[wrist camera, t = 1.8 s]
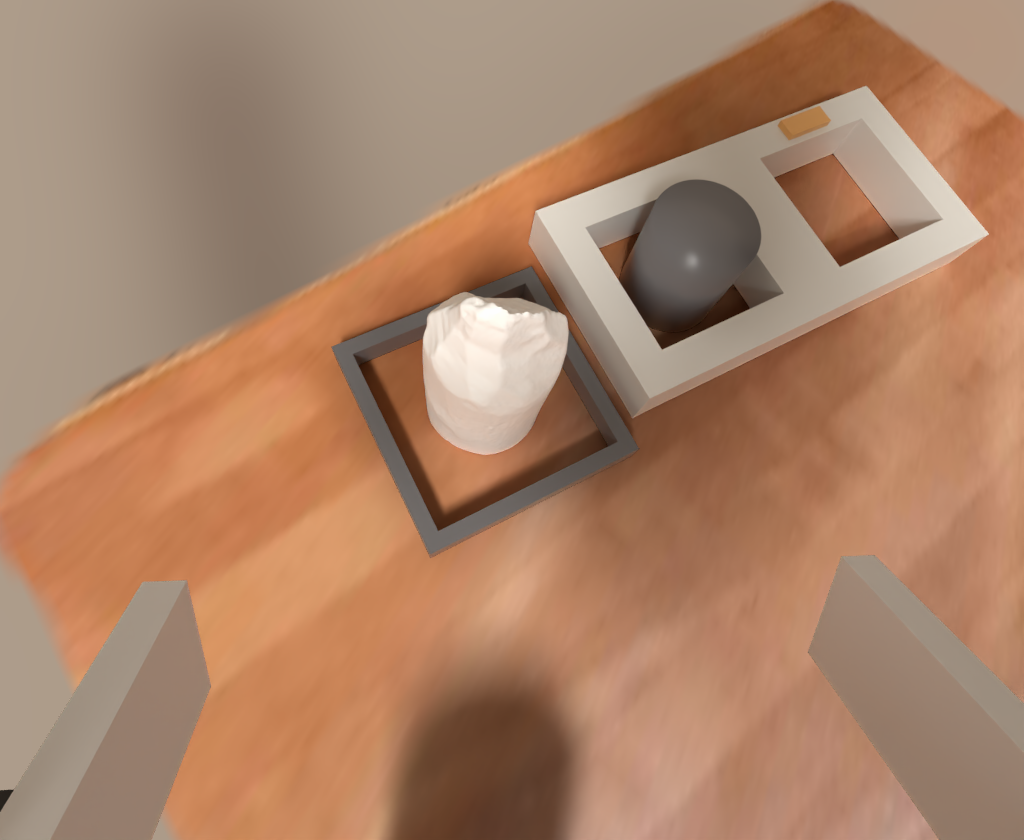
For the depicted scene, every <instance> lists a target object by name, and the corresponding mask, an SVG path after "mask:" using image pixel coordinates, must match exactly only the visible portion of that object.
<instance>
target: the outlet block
mask: <svg viewBox="0 0 1024 840" xmlns="http://www.w3.org/2000/svg"><path fill="white" fill-rule="evenodd" d="M831 154H834V156H835V157H836V158H837V159H838V161H839V162H840V163H841V165H842V166H843V167H844V168H845V170H846V171H847V172H848V174H849V175H850V176H851V177H852V179H853V180H854V181H855V183H856V184H857V185H858V186H859V188H860V189H861V190H862V192H863V193H864V194H865V195H866V197H867V198H868V199H869V201H870V202H871V203H872V204H873V206H874V207H875V208H876V210H877V211H878V212H879V213H880V215H881V216H882V217H883V219H884V220H885V221H886V222H887V224H888V225H889V226H890V228H891V229H892V230H893V231H894V233H895V234H896V235H897V236H898V238H899V240H897V241H895V242H893V243H891V244H888V245H886V246H884V247H882V248H880V249H878V250H875V251H873V252H871V253H869V254H867V255H865V256H863V257H860V258H858V259H856V260H854V261H852V262H850V263H848V264H845V265H843V266H841V267H840V266H839V265H838V264H837V262H836V261H835V260H834V258H833V257H832V256H831V254H830V253H829V252H828V250H827V249H826V247H825V246H824V245H823V243H822V242H821V241H820V239H819V238H818V237H817V235H816V234H815V233H814V231H813V230H812V229H811V227H810V226H809V224H808V223H807V222H806V220H805V219H804V218H803V216H802V215H801V214H800V212H799V211H798V210H797V208H796V207H795V206H794V204H793V203H792V201H791V200H790V199H789V197H788V196H787V195H786V193H785V192H784V191H783V189H782V188H781V187H780V185H779V184H778V183H777V181H776V180H775V178H774V177H776V176H779V175H781V174H784V173H786V172H789V171H791V170H794V169H796V168H799V167H801V166H804V165H806V164H808V163H811V162H813V161H816V160H818V159H821V158H823V157H826V156H828V155H831ZM639 232H640V234H639V236H638V238H637V240H636V242H635V244H634V247H633V249H632V251H631V253H630V255H629V257H628V259H627V261H626V263H625V265H624V267H623V269H622V271H621V274H620V279H619V280H618V279H617V277H616V276H615V274H614V272H613V271H612V269H611V268H610V266H609V264H608V263H607V261H606V260H605V258H604V256H603V255H602V253H601V252H600V250H599V248H602V247H604V246H607V245H609V244H612V243H614V242H617V241H619V240H621V239H624V238H626V237H629V236H631V235H634V234H636V233H639ZM987 235H989V234H988V232H987V231H986V230H985V229H984V228H983V226H982V225H981V224H980V223H979V221H978V220H977V219H976V218H975V217H974V215H973V214H972V213H971V212H970V211H969V209H968V208H967V207H966V206H965V204H964V203H963V202H962V201H961V200H960V198H959V197H958V196H957V195H956V194H955V192H954V191H953V190H952V189H951V188H950V186H949V185H948V184H947V183H946V181H945V180H944V179H943V178H942V177H941V175H940V174H939V173H938V172H937V171H936V169H935V168H934V167H933V166H932V164H931V163H930V162H929V161H928V160H927V158H926V157H925V156H924V155H923V154H922V152H921V151H920V150H919V149H918V147H917V146H916V145H915V144H914V143H913V141H912V140H911V139H910V138H909V137H908V135H907V134H906V133H905V132H904V131H903V129H902V128H901V127H900V126H899V124H898V123H897V122H896V121H895V120H894V118H893V117H892V116H891V115H890V114H889V112H888V111H887V110H886V109H885V107H884V106H883V105H882V104H881V103H880V101H879V100H878V99H877V98H876V97H875V95H874V94H873V93H872V92H871V90H870V89H869V88H868V87H867V86H864V87H862V88H859V89H856V90H854V91H851V92H848V93H846V94H843V95H841V96H838V97H835V98H833V99H830V100H827V101H825V102H822V103H819V104H817V105H814V106H811V107H809V108H806V109H804V110H801V111H798V112H796V113H793V114H790V115H788V116H785V117H782V118H780V119H777V120H774V121H772V122H769V123H767V124H764V125H761V126H759V127H756V128H753V129H751V130H748V131H745V132H743V133H740V134H737V135H735V136H732V137H730V138H727V139H724V140H722V141H719V142H716V143H714V144H711V145H708V146H706V147H703V148H701V149H698V150H695V151H693V152H690V153H687V154H685V155H682V156H679V157H677V158H674V159H671V160H669V161H666V162H664V163H661V164H658V165H656V166H653V167H650V168H648V169H645V170H642V171H640V172H637V173H634V174H632V175H629V176H627V177H624V178H621V179H619V180H616V181H613V182H611V183H608V184H605V185H603V186H600V187H597V188H595V189H592V190H590V191H587V192H584V193H582V194H579V195H576V196H574V197H571V198H568V199H566V200H563V201H561V202H558V203H555V204H553V205H550V206H547V207H545V208H542V209H539V210H537V211H535V216H534V220H533V225H532V229H531V234H530V239H529V243H528V244H529V245H530V247H531V249H532V250H533V252H534V254H535V255H536V257H537V259H538V261H539V262H540V264H541V266H542V267H543V269H544V271H545V272H546V274H547V276H548V277H549V279H550V281H551V282H552V284H553V286H554V287H555V289H556V291H557V292H558V294H559V296H560V297H561V299H562V301H563V303H564V304H565V306H566V308H567V309H568V311H569V313H570V314H571V316H572V318H573V319H574V321H575V323H576V324H577V326H578V328H579V329H580V331H581V333H582V334H583V336H584V338H585V340H586V341H587V343H588V345H589V346H590V348H591V350H592V351H593V353H594V355H595V356H596V358H597V360H598V361H599V363H600V365H601V366H602V368H603V370H604V371H605V373H606V375H607V376H608V378H609V380H610V382H611V383H612V385H613V387H614V388H615V390H616V392H617V393H618V395H619V397H620V398H621V400H622V402H623V403H624V405H625V407H626V408H627V410H628V412H629V413H630V415H631V417H632V418H634V417H636V416H638V415H640V414H642V413H644V412H646V411H648V410H650V409H652V408H654V407H656V406H658V405H660V404H662V403H664V402H667V401H669V400H671V399H673V398H675V397H677V396H679V395H681V394H683V393H685V392H687V391H689V390H691V389H693V388H695V387H697V386H699V385H701V384H703V383H705V382H707V381H709V380H711V379H713V378H715V377H718V376H720V375H722V374H724V373H726V372H728V371H730V370H732V369H734V368H736V367H738V366H740V365H742V364H744V363H746V362H748V361H750V360H752V359H754V358H756V357H758V356H760V355H762V354H764V353H766V352H769V351H771V350H773V349H775V348H777V347H779V346H781V345H783V344H785V343H787V342H789V341H791V340H793V339H795V338H797V337H799V336H801V335H803V334H805V333H807V332H809V331H811V330H813V329H815V328H818V327H820V326H822V325H824V324H826V323H828V322H830V321H832V320H834V319H836V318H838V317H840V316H842V315H844V314H846V313H848V312H850V311H852V310H854V309H856V308H858V307H860V306H862V305H864V304H866V303H869V302H871V301H873V300H875V299H877V298H879V297H881V296H883V295H885V294H887V293H889V292H891V291H893V290H895V289H897V288H899V287H901V286H903V285H905V284H907V283H909V282H911V281H913V280H915V279H918V278H920V277H922V276H924V275H926V274H928V273H930V272H932V271H934V270H936V269H938V268H940V267H942V266H944V265H946V264H948V263H950V262H951V261H953V260H954V259H955V258H957V257H958V256H960V255H961V254H962V253H964V252H965V251H967V250H968V249H969V248H971V247H972V246H973V245H975V244H976V243H978V242H979V241H980V240H982V239H983V238H984V237H986V236H987ZM732 284H734V286H735V287H736V288H737V290H738V291H739V293H740V294H741V296H742V297H743V299H744V300H745V302H746V303H747V305H748V306H749V308H750V309H749V310H746V311H744V312H742V313H740V314H738V315H736V316H734V317H731V318H729V319H727V320H725V321H723V322H721V323H719V324H716V325H714V326H712V327H710V328H708V329H706V330H703V331H701V332H699V333H697V334H695V335H693V336H691V337H688V338H686V339H684V340H682V341H680V342H678V343H676V344H673V345H671V346H669V347H667V348H665V349H663V350H662V349H661V347H660V346H659V344H658V342H657V341H656V339H655V338H654V336H653V335H652V333H651V331H650V330H649V328H648V327H647V326H649V327H651V328H653V329H656V330H660V331H665V332H680V331H684V330H687V329H690V328H692V327H694V326H696V325H697V324H699V323H700V322H701V321H702V320H703V319H704V318H705V317H706V315H707V314H708V313H709V312H710V311H711V309H712V308H713V307H714V306H715V305H716V303H717V302H718V301H719V300H720V299H721V298H722V296H723V295H724V294H725V293H726V292H727V290H728V289H729V288H730V287H731V286H732Z"/></svg>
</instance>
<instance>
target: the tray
mask: <svg viewBox="0 0 1024 840" xmlns="http://www.w3.org/2000/svg"><path fill="white" fill-rule="evenodd" d="M468 293H471V294H473V295H475V296H480V297H483V298H523V299H524V300H526V301H529V302H533V303H535V304H538V305H540V306H543V307H546V308H548V309H550V310H551V311H555V312H558V310H557V309H556V307H555V305H554V304H553V302H552V300H551V299H550V297H549V295H548V293H547V292H546V290H545V288H544V287H543V285H542V283H541V282H540V280H539V278H538V276H537V275H536V273H535V271H534V270H533V268H532V266H531V267H529V268H526V269H524V270H521V271H519V272H516V273H514V274H511V275H509V276H507V277H504V278H502V279H499V280H497V281H494V282H492V283H489V284H487V285H484V286H482V287H479V288H477V289H474V290H472V291H469V292H468ZM442 303H443V302H442ZM442 303H439V304H437V305H434V306H432V307H429V308H427V309H424V310H422V311H419V312H417V313H414V314H412V315H410V316H407V317H405V318H402V319H400V320H397V321H395V322H392V323H390V324H387V325H385V326H382V327H380V328H377V329H375V330H372V331H370V332H367V333H365V334H362V335H360V336H357V337H355V338H352V339H350V340H347V341H345V342H342V343H340V344H337V345H335V346H332V350H333V352H334V355H335V357H336V360H337V362H338V364H339V366H340V368H341V370H342V372H343V374H344V377H345V379H346V381H347V383H348V385H349V387H350V389H351V391H352V393H353V396H354V398H355V400H356V402H357V404H358V406H359V408H360V410H361V412H362V414H363V417H364V419H365V421H366V423H367V425H368V427H369V429H370V431H371V433H372V436H373V438H374V440H375V442H376V444H377V446H378V448H379V450H380V452H381V455H382V457H383V459H384V461H385V463H386V465H387V467H388V469H389V471H390V474H391V476H392V478H393V480H394V482H395V484H396V486H397V488H398V490H399V493H400V495H401V497H402V499H403V501H404V503H405V505H406V507H407V509H408V512H409V514H410V516H411V518H412V520H413V522H414V524H415V526H416V528H417V531H418V533H419V535H420V537H421V539H422V541H423V543H424V545H425V547H426V550H427V552H428V554H429V556H430V558H432V557H434V556H436V555H438V554H440V553H442V552H444V551H446V550H448V549H449V548H451V547H453V546H455V545H457V544H459V543H461V542H463V541H465V540H467V539H469V538H471V537H473V536H475V535H477V534H479V533H481V532H483V531H485V530H487V529H489V528H491V527H493V526H495V525H497V524H499V523H501V522H503V521H505V520H507V519H509V518H511V517H513V516H515V515H517V514H518V513H520V512H522V511H524V510H526V509H528V508H530V507H532V506H534V505H536V504H538V503H540V502H542V501H544V500H546V499H548V498H550V497H552V496H554V495H556V494H558V493H560V492H562V491H564V490H566V489H568V488H570V487H572V486H574V485H576V484H578V483H580V482H582V481H584V480H586V479H588V478H589V477H591V476H593V475H595V474H597V473H599V472H601V471H603V470H605V469H607V468H609V467H611V466H613V465H615V464H617V463H619V462H621V461H623V460H625V459H627V458H629V457H631V456H632V455H633V454H634V453H635V452H636V451H637V450H638V449H639V448H638V446H637V444H636V443H635V441H634V439H633V438H632V436H631V434H630V432H629V431H628V429H627V427H626V426H625V424H624V422H623V421H622V419H621V417H620V416H619V414H618V412H617V410H616V409H615V407H614V405H613V404H612V402H611V400H610V399H609V397H608V395H607V393H606V392H605V390H604V388H603V387H602V385H601V383H600V382H599V380H598V378H597V377H596V375H595V373H594V371H593V370H592V368H591V366H590V365H589V363H588V361H587V360H586V358H585V356H584V354H583V353H582V351H581V349H580V348H579V346H578V344H577V343H576V341H575V339H574V338H573V336H572V334H571V332H570V331H569V335H568V344H567V352H566V356H565V359H564V362H563V366H562V367H563V369H564V370H565V372H566V374H567V376H568V377H569V379H570V381H571V382H572V384H573V386H574V388H575V389H576V391H577V393H578V395H579V396H580V398H581V400H582V402H583V403H584V405H585V407H586V409H587V410H588V412H589V414H590V415H591V417H592V419H593V421H594V422H595V424H596V426H597V428H598V429H599V431H600V433H601V435H602V436H603V438H604V440H605V441H606V443H607V445H608V447H606V448H604V449H602V450H600V451H598V452H596V453H594V454H592V455H590V456H588V457H586V458H584V459H582V460H580V461H578V462H576V463H574V464H572V465H570V466H568V467H566V468H564V469H562V470H560V471H558V472H556V473H554V474H552V475H550V476H548V477H546V478H544V479H542V480H540V481H538V482H536V483H534V484H532V485H530V486H528V487H526V488H524V489H522V490H520V491H518V492H516V493H514V494H512V495H510V496H508V497H506V498H504V499H502V500H500V501H498V502H496V503H494V504H492V505H490V506H488V507H486V508H484V509H482V510H480V511H478V512H476V513H474V514H472V515H470V516H468V517H466V518H464V519H462V520H460V521H458V522H456V523H454V524H452V525H450V526H448V527H446V528H444V529H442V530H440V531H438V530H437V528H436V526H435V524H434V522H433V519H432V517H431V515H430V513H429V511H428V509H427V507H426V505H425V503H424V501H423V499H422V497H421V495H420V493H419V490H418V488H417V486H416V484H415V482H414V480H413V478H412V476H411V474H410V472H409V470H408V468H407V466H406V464H405V461H404V459H403V457H402V455H401V453H400V451H399V449H398V447H397V445H396V443H395V441H394V439H393V437H392V435H391V432H390V430H389V428H388V426H387V424H386V422H385V420H384V418H383V416H382V414H381V412H380V410H379V408H378V405H377V403H376V401H375V399H374V397H373V395H372V393H371V391H370V389H369V387H368V385H367V383H366V381H365V379H364V376H363V374H362V372H361V370H360V368H359V366H358V365H360V364H362V363H365V362H367V361H369V360H372V359H374V358H377V357H379V356H382V355H384V354H386V353H389V352H391V351H394V350H396V349H398V348H401V347H403V346H406V345H408V344H410V343H413V342H415V341H418V340H420V339H423V336H424V332H425V330H426V326H427V317H428V314H429V313H430V312H431V311H432V310H434V309H436V308H437V307H438V306H439V305H440V304H442ZM568 330H569V329H568Z"/></svg>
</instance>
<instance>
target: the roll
mask: <svg viewBox="0 0 1024 840" xmlns="http://www.w3.org/2000/svg"><path fill="white" fill-rule="evenodd" d="M568 335H569V330H568V321H567V317H566V316H565V315H564V314H561V313H560V312H555V311H551V310H550V309H548V308H546V307H543V306H540V305H538V304H535V303H533V302H529V301H526V300H523V299H521V298H483V297H480V296H475V295H473V294H471V293H468V292H463V293H460V294H457V295H455V296H453V297H451V298H450V299H448V300H446V301H444V302H443V303H442V304H440V305H439V306H438V307H437V308H436V309H434V310H432V311H431V312H430V313H429V314H428V317H427V326H426V330H425V332H424V336H423V376H424V384H425V396H426V405H427V411H428V416H429V419H430V422H431V424H432V425H433V427H434V428H435V430H436V431H437V432H438V433H439V434H440V435H441V436H442V437H443V438H444V439H445V440H447V441H449V442H450V443H451V444H453V445H454V446H456V447H458V448H460V449H463V450H466V451H469V452H472V453H477V454H482V455H489V454H496V453H499V452H502V451H504V450H507V449H509V448H511V447H513V446H514V445H516V444H517V443H519V442H520V441H521V440H522V439H523V438H524V437H525V436H526V435H527V434H528V432H529V431H530V430H531V428H532V426H533V425H534V422H535V420H536V417H537V415H538V413H539V411H540V409H541V407H542V405H543V404H544V402H545V400H546V398H547V396H548V394H549V392H550V391H551V389H552V388H553V386H554V384H555V382H556V380H557V378H558V376H559V374H560V372H561V369H562V366H563V362H564V359H565V356H566V352H567V344H568Z"/></svg>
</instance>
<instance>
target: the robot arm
mask: <svg viewBox="0 0 1024 840" xmlns="http://www.w3.org/2000/svg"><path fill="white" fill-rule="evenodd" d="M808 653H809V654H810V656H811V657H812V659H813V660H814V661H815V663H816V664H817V666H818V667H819V669H820V670H821V671H822V673H823V674H824V676H825V677H826V679H827V680H828V681H829V683H830V684H831V686H832V687H833V689H834V690H835V691H836V693H837V694H838V696H839V697H840V699H841V700H842V701H843V703H844V704H845V706H846V707H847V709H848V710H849V711H850V713H851V714H852V716H853V717H854V719H855V720H856V721H857V723H858V724H859V726H860V727H861V729H862V730H863V731H864V733H865V734H866V736H867V737H868V738H869V740H870V741H871V743H872V744H873V746H874V747H875V748H876V750H877V751H878V753H879V754H880V756H881V757H882V758H883V760H884V761H885V763H886V764H887V766H888V767H889V768H890V770H891V771H892V773H893V774H894V776H895V777H896V778H897V780H898V781H899V783H900V784H901V786H902V787H903V788H904V790H905V791H906V793H907V794H908V796H909V797H910V798H911V800H912V801H913V803H914V804H915V806H916V807H917V808H918V810H919V811H920V813H921V814H922V816H923V817H924V818H925V820H926V821H927V823H928V824H929V826H930V827H931V828H932V830H933V831H934V833H935V834H936V835H937V837H938V838H939V840H1024V703H1023V702H1022V701H1021V700H1020V699H1019V698H1018V697H1017V696H1016V695H1015V694H1014V693H1013V692H1012V691H1011V690H1010V689H1009V688H1008V687H1007V686H1006V685H1005V684H1004V683H1003V682H1002V681H1001V680H1000V679H999V678H998V677H997V676H996V675H995V674H994V673H993V672H992V671H991V670H990V669H989V668H988V667H987V666H986V665H985V664H984V663H983V662H982V661H981V660H980V659H979V658H978V657H977V656H976V655H975V654H974V653H973V652H971V651H970V650H969V649H968V648H967V647H966V646H965V645H964V644H963V643H962V642H961V641H960V640H959V639H958V638H957V637H956V636H955V635H954V634H953V633H952V632H951V631H950V630H949V629H948V628H947V627H946V626H945V625H944V624H943V623H942V622H941V621H940V620H939V619H938V618H937V617H936V616H935V615H934V614H933V613H932V612H931V611H930V610H929V609H928V608H927V607H926V606H925V605H924V604H923V603H922V602H921V601H920V600H919V599H918V598H917V597H916V596H915V595H914V594H913V593H912V592H911V591H910V590H909V589H908V588H907V587H906V586H905V585H904V584H903V583H902V582H901V581H900V580H899V579H898V578H897V577H896V576H895V575H894V574H893V573H892V572H891V571H890V570H889V569H888V568H887V567H886V566H885V565H884V564H883V563H882V562H881V561H880V560H879V559H878V558H877V557H876V556H875V555H868V556H841V559H840V562H839V565H838V568H837V570H836V573H835V576H834V579H833V582H832V585H831V588H830V590H829V593H828V596H827V599H826V602H825V605H824V608H823V610H822V613H821V616H820V619H819V622H818V625H817V628H816V630H815V633H814V636H813V639H812V642H811V645H810V647H809V650H808ZM210 687H211V684H210V680H209V675H208V671H207V667H206V662H205V658H204V653H203V649H202V645H201V640H200V636H199V632H198V627H197V623H196V618H195V614H194V610H193V605H192V601H191V596H190V592H189V588H188V583H187V580H183V581H156V582H142V584H141V586H140V587H139V589H138V591H137V592H136V594H135V595H134V597H133V599H132V600H131V602H130V603H129V605H128V607H127V608H126V610H125V611H124V613H123V615H122V616H121V618H120V620H119V621H118V623H117V624H116V626H115V628H114V629H113V631H112V632H111V634H110V636H109V637H108V639H107V641H106V642H105V644H104V645H103V647H102V649H101V650H100V652H99V653H98V655H97V657H96V658H95V660H94V662H93V663H92V665H91V666H90V668H89V670H88V671H87V673H86V674H85V676H84V678H83V679H82V681H81V682H80V684H79V686H78V687H77V689H76V691H75V692H74V694H73V695H72V697H71V699H70V700H69V702H68V703H67V705H66V707H65V708H64V710H63V712H62V714H61V715H60V716H59V718H58V720H57V721H56V723H55V724H54V726H53V728H52V729H51V731H50V733H49V734H48V736H47V737H46V739H45V741H44V742H43V744H42V745H41V747H40V749H39V750H38V752H37V754H36V755H35V757H34V759H33V760H32V762H31V763H30V765H29V766H28V768H27V770H26V771H25V773H24V774H23V776H22V778H21V780H20V781H19V783H18V784H17V786H16V787H15V789H14V790H1V791H0V840H151V839H152V837H153V834H154V832H155V829H156V827H157V824H158V822H159V819H160V816H161V814H162V811H163V809H164V806H165V804H166V801H167V798H168V796H169V793H170V791H171V788H172V785H173V783H174V780H175V778H176V775H177V773H178V770H179V767H180V765H181V762H182V760H183V757H184V754H185V752H186V749H187V747H188V744H189V742H190V739H191V736H192V734H193V731H194V729H195V726H196V723H197V721H198V718H199V716H200V713H201V711H202V708H203V705H204V703H205V700H206V698H207V695H208V692H209V690H210Z"/></svg>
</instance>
